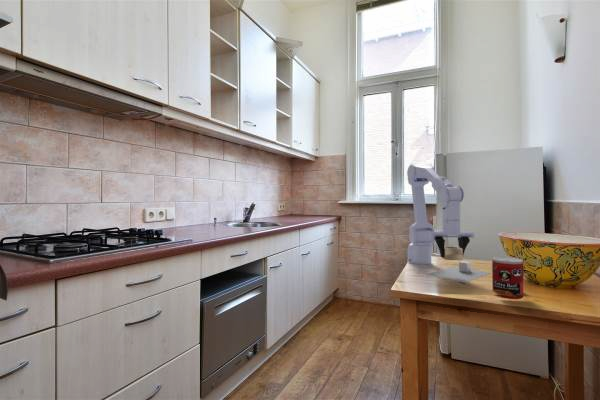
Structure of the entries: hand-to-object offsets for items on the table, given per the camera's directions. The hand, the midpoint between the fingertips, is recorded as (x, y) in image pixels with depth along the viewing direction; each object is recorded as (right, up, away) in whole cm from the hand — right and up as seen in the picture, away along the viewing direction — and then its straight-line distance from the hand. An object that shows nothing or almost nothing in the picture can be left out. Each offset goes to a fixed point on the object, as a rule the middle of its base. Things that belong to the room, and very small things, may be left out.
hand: (451, 257), depth 108 cm
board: (+4, -8, +3) cm, 9 cm away
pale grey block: (+8, -7, +6) cm, 12 cm away
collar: (0, 0, 0) cm, 0 cm away
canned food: (+8, -8, -18) cm, 21 cm away
